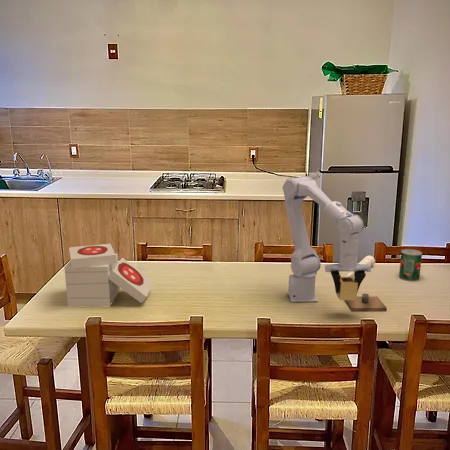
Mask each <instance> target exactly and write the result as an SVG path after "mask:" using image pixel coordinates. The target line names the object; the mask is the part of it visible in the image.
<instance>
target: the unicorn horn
mask: <svg viewBox="0 0 450 450" xmlns="http://www.w3.org/2000/svg"><path fill="white" fill-rule="evenodd" d="M357 264H366V265H370V266H371V267H373V266H374V265H375V264H376V260H375V257H374V256H372V255H366V256H365V257H364V258H363V259H362V260H361V261H359V262H357ZM345 277H354V272H348V274H346V275H345Z"/></svg>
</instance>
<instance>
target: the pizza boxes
mask: <svg viewBox="0 0 450 450" xmlns="http://www.w3.org/2000/svg"><path fill="white" fill-rule="evenodd" d="M113 248H114V247H112V244H111V243H102V244H94V245H93V244H92V245H83V246H82V245H81V246H71V247H69V248H68V250H69V251H68V252H69V261H68V262H67V264H65V265H64V278H65V289H66V299H67V307H68V306H110V305H111V303H112V302H113V303H114V301H115V300H114V298H115V297H116V298H117V296H118V295H117V293H118V292H119V293H120V291H119V290H121V289H122V291H124V292H126V293H127V294H128V295H130V296H131V297H132V298H134V299H135V300H136V301H137V302H139V303H140V304H142V303H144V301H145V299H147V297H148V295H149V293H150V291H151V288H152V287H153V284H154V280H152V279H151V278H150V277H148V276H147V275H146V274H145V273H143V272H142V271H141V270H139V268H137V267H135V266H134V265H133V264H131V262H129V261H127V260H126V259H125V258H124V257H121V258H120V260H119V256H118V253H115V251H114V249H113ZM119 293H118V294H119ZM116 295H117V296H116ZM116 298H115V299H116ZM113 300H114V301H113ZM113 303H112V304H113ZM111 306H112V305H111ZM111 306H110V307H111Z"/></svg>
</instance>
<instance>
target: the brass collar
mask: <svg viewBox="0 0 450 450" xmlns="http://www.w3.org/2000/svg"><path fill="white" fill-rule="evenodd" d="M357 289H358V282H357V281H356V280H355V276H352V277H346V276H341V277H340V283H339V293H336V292H335V294H336V296H337V298H338V300H339V301H345V300H357V297H358V293H357ZM358 290H359V289H358Z"/></svg>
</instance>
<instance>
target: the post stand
mask: <svg viewBox="0 0 450 450" xmlns="http://www.w3.org/2000/svg"><path fill="white" fill-rule="evenodd" d="M344 302H345V304H346V306H348V308H349V310H350V311H351V312H387V309H388V308H387V306H386V304H384V302H383V301H382V300H381V299H380V297H378V296H370V295H369V294H368V293H362V294H361V296H357V300H344Z"/></svg>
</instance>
